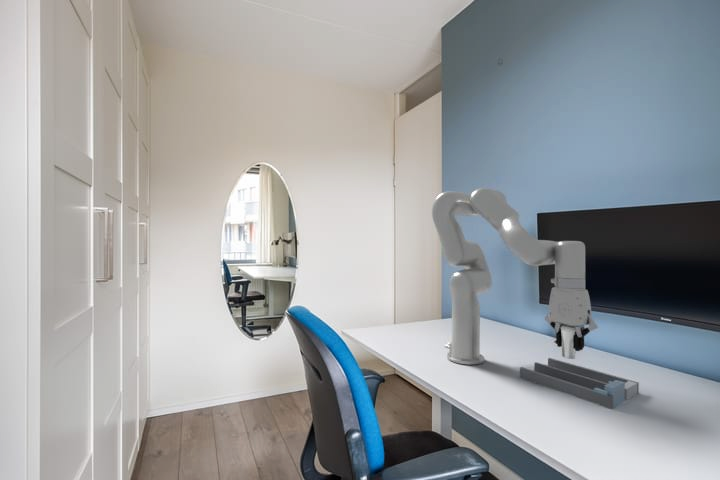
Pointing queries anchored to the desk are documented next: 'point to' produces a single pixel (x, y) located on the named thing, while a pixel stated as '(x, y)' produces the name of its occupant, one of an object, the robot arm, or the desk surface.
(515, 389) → the desk surface
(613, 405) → the grey divided tray
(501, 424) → the desk surface
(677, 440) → the desk surface
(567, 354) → the milkshake
